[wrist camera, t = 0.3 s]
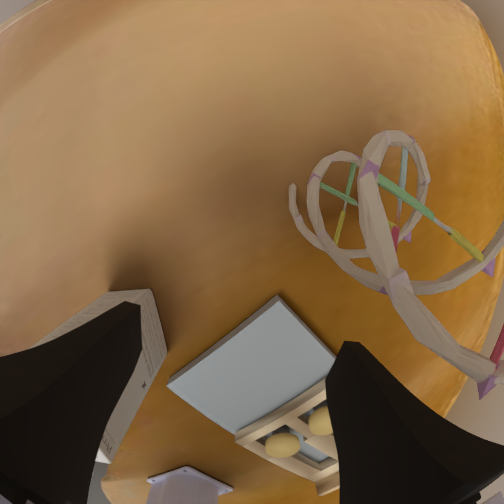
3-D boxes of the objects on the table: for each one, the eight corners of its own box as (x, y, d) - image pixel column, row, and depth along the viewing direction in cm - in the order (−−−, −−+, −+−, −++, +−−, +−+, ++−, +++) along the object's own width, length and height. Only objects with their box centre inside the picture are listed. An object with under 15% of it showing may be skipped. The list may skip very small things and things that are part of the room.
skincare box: (170, 353, 21) (119, 471, 9) (124, 353, 21) (57, 453, 9) (151, 283, 19) (58, 379, 8) (102, 288, 19) (2, 367, 8)
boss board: (317, 472, 25) (322, 494, 21) (169, 377, 21) (158, 405, 18) (400, 422, 23) (412, 443, 20) (277, 294, 20) (283, 316, 16)
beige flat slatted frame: (317, 476, 23) (321, 496, 20) (235, 432, 21) (233, 458, 18) (397, 429, 22) (407, 448, 19) (336, 369, 20) (347, 394, 16)
